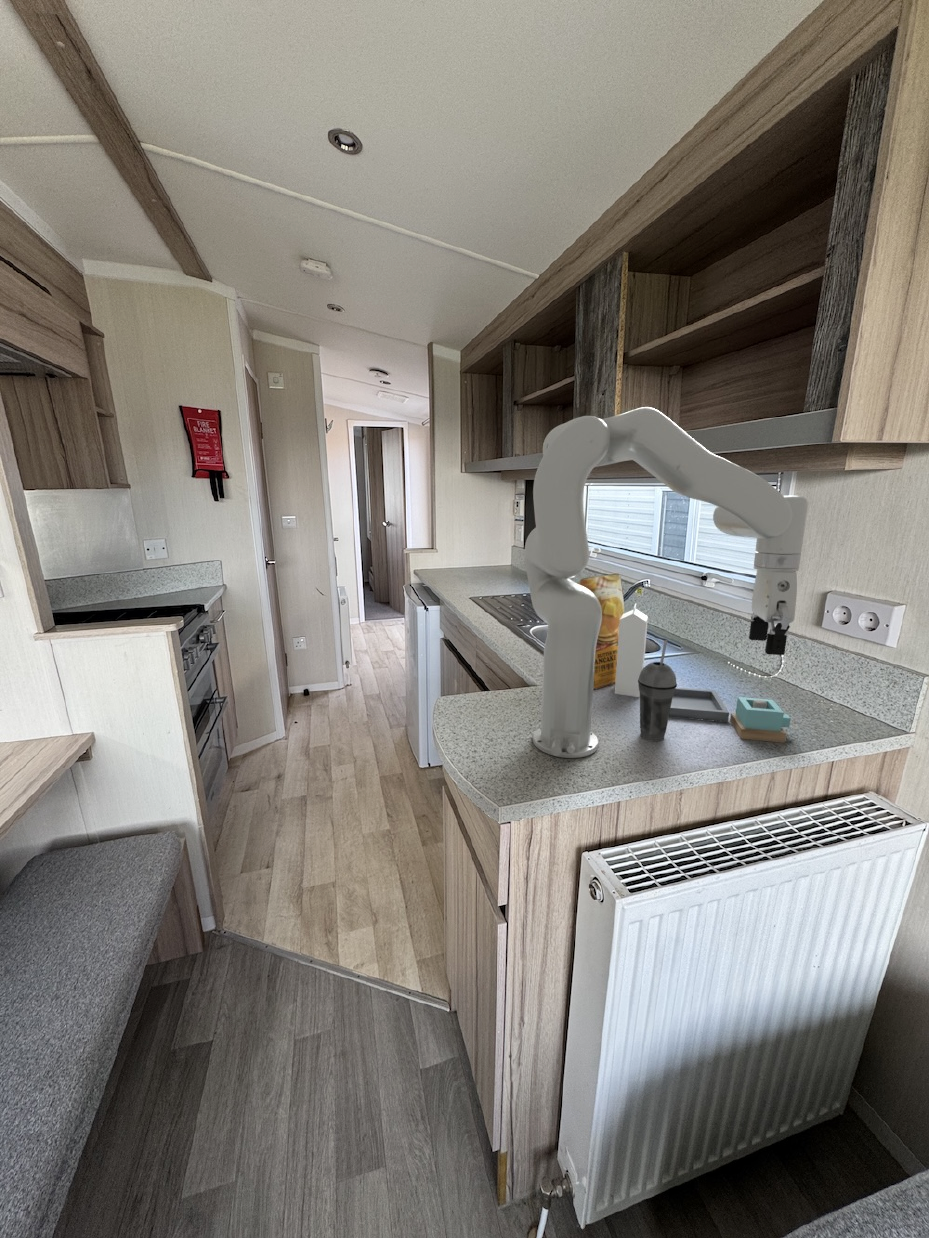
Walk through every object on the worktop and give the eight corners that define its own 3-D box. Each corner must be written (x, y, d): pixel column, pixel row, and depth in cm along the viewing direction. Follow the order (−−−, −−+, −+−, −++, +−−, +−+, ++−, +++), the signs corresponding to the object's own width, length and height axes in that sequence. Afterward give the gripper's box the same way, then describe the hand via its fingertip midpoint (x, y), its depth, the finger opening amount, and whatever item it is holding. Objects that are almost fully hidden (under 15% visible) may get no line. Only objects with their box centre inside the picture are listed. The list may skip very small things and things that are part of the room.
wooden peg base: (784, 742, 100) (789, 712, 98) (740, 738, 101) (744, 708, 100) (771, 725, 107) (775, 696, 106) (729, 721, 109) (733, 693, 107)
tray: (727, 722, 109) (729, 712, 108) (663, 716, 112) (664, 707, 111) (713, 699, 121) (715, 690, 120) (656, 694, 124) (657, 685, 123)
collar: (793, 732, 99) (796, 713, 98) (744, 728, 101) (746, 709, 100) (781, 718, 106) (784, 700, 105) (735, 714, 108) (737, 696, 107)
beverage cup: (625, 731, 104) (633, 638, 100) (654, 725, 107) (662, 634, 102) (650, 747, 98) (659, 648, 93) (679, 741, 100) (690, 644, 96)
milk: (614, 694, 124) (619, 606, 119) (617, 685, 130) (622, 601, 124) (640, 697, 122) (647, 608, 117) (642, 689, 127) (649, 603, 122)
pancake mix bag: (563, 685, 130) (568, 577, 123) (613, 671, 140) (620, 571, 133) (583, 694, 124) (589, 581, 118) (633, 678, 135) (641, 574, 128)
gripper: (818, 568, 88) (804, 661, 93) (781, 556, 105) (770, 635, 109) (771, 567, 90) (759, 659, 94) (741, 556, 106) (732, 634, 111)
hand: (765, 646), depth 102 cm, fingers open, 9 cm apart
